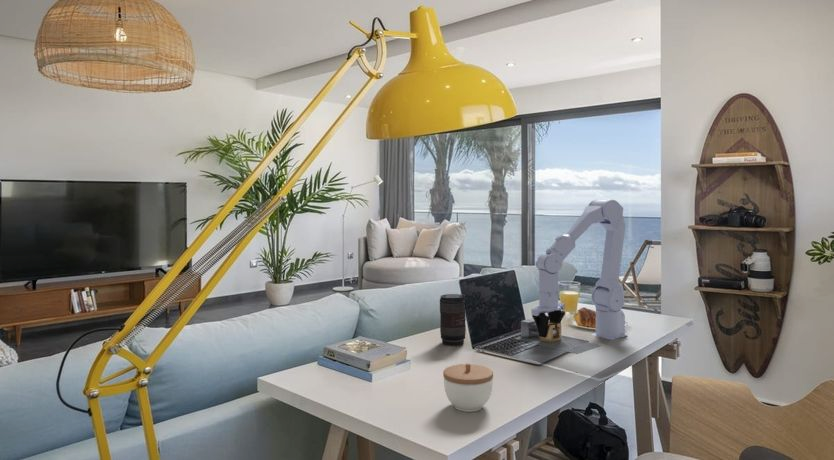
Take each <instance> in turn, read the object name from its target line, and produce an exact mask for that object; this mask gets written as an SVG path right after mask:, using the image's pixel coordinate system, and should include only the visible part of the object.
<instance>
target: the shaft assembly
mask: <svg viewBox="0 0 834 460" xmlns="http://www.w3.org/2000/svg"><path fill="white" fill-rule="evenodd" d="M556 335H557V330H556V327H555V328H553V336H556ZM537 336H539V332H538V328H537V325H536V322H535V320H534V319H533V317H531V318H527V319H523V320H521V321H520V337H523V338H527V339H530V338H533V337H537Z"/></svg>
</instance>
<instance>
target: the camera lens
mask: <svg viewBox="0 0 834 460" xmlns="http://www.w3.org/2000/svg"><path fill="white" fill-rule="evenodd" d="M462 295H463V294H460V293H459V294H458V293H449V294H448V293H447V294H442V295H440V299H439V313H440V317H439V318H440V320H439V321H440V322H439V323H440V324H439V325H440V326H439V327H440V328H439V329H440V339H441V342H442V344H443V345H445V346H447V347H448V346H449V347H457V346H458V347H459V346H463V345H464V343H465V339H466V334H467V333H466V331H467V328H466V313H465V307H464V303H465V300H464V302H463V298H464V297H462Z"/></svg>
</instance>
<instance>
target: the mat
mask: <svg viewBox="0 0 834 460" xmlns="http://www.w3.org/2000/svg"><path fill="white" fill-rule="evenodd" d="M563 337H564V336H561V340H560V341H557V342H553V343H548V342H543V341H540V336H537V337H533V338H530V339H527V338H523V337H521V336H518V337H514V338H513V339H514V340H518V341H523V342H526V343H530V344H535V345H539V346H543V347H547V348H551V349H555V350H558V351H563V352H567V353H570V354H574V355H575V354H576V355H578V354H582V353H583V352H587V351H590V350H593V349H596V348H600V347H602V345H601V344H597V343H593V342H587V341H586V342H587V343H585V344H583V345H580V346H579V347H577V348H575V349H572V350H570V349H569V346H568V345H566V344H565V343H564V342H563V341H564V338H563Z"/></svg>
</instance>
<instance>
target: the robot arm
mask: <svg viewBox="0 0 834 460" xmlns="http://www.w3.org/2000/svg"><path fill="white" fill-rule="evenodd" d="M598 223H600V224H601V226H602V227H603V228H604V229H605V232H606V233H605V241H604V246H603V247H604V248H603V249H604V250H603V257H602V266H601V274H600V278H599V279H598V280H597V281H596V282H595V285H594V289H593V290H592V293H591V302H592V303H593V304H594V305H595V306H594V307H595V332H594V333H591V334H590V336H593V337H598V338H603V339H608V340H616V339H619V338H625V337H627V336H628V333H626V332H625V331H626V328H625V327H626V326H625V325H626V315H625V313H624V311H623V310H622V308H623V307H624V305H625V302H626V299H625V294H624V290H625V289H624V286H623V285H622V283H621V282H620V273H621V266H622V265H621V263H622V255H623V249H624V241H625V231H626V223H625V219H624V207H623V206H622V205H621V203H619V201H617V200H615V199H603V200H602V199H600V200H599V199H594V200H591V201H590V202H589V204H588V205H586V206H585V207H584V209H583V212H582V214H581V215H580V216H579V218H578V219H577V220H576V221H575V223H574V224H573V226H572V227H570V229H569V230H568V231H567V233H566V234H560V235H559V236H558V235H557V236H556V237H555V241H554V242H553V243H552V244H551V245H550V247H549V248H546V249H545V252H543V253H541V254H540V255H538V257H537V260H536V261H535V267H536V268H537V270H538V275H539V276H538V281H539V282H538V288H539V289H538V290H539V293H538V305H536V306H535V307H533V308H531V318H533V319H534V320H535V322H536V325H537V328H538V332H539V336H540V337H544V338H545V337H546V335H547V327H548V322H549V321H554V322H559V323H561V324H562V320H563V318H564V316H565V315H566V311H564V310H566V304H565V303H563V302H559V271H560V270H562V267H563V262H564V261H565V259H566V258H567V257H568V256H569V254H571V252H572V251H573V250H575V248H576V241H577V240H578V239H579V238H580V237H581V236H582V235H583V234H584V233H585V232H586V231H587V230H588V229H589V228H590V227H591V226H592V225H593V224H598Z"/></svg>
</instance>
